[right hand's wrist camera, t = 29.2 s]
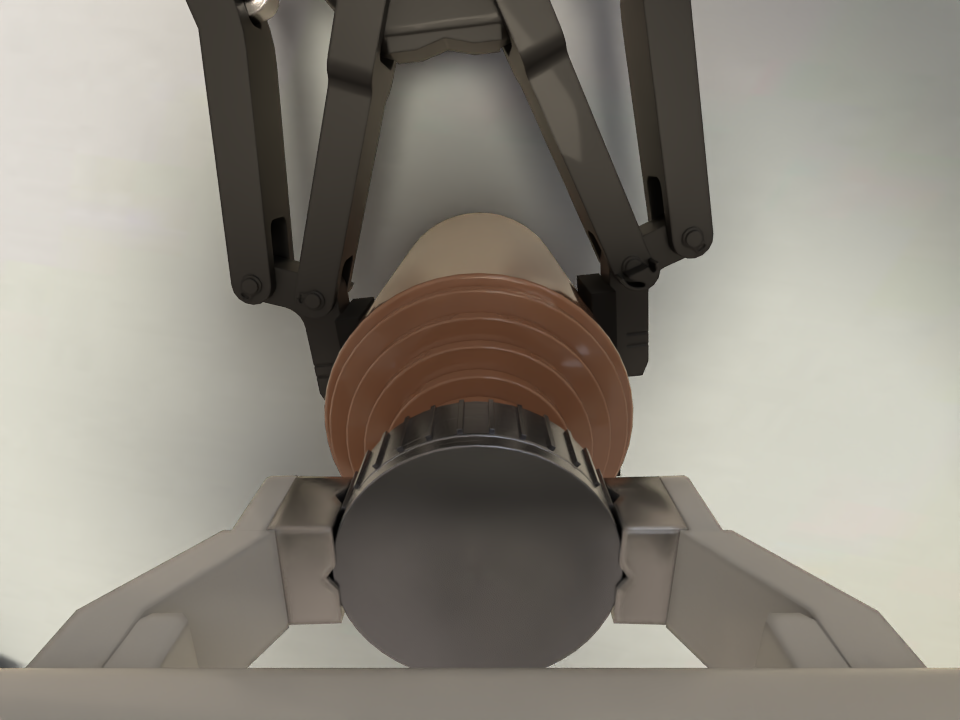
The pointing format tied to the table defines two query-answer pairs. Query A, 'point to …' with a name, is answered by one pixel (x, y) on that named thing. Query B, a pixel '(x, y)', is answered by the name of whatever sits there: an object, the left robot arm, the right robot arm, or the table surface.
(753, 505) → the table surface
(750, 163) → the table surface
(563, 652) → the cap
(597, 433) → the bottle
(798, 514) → the table surface
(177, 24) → the table surface
